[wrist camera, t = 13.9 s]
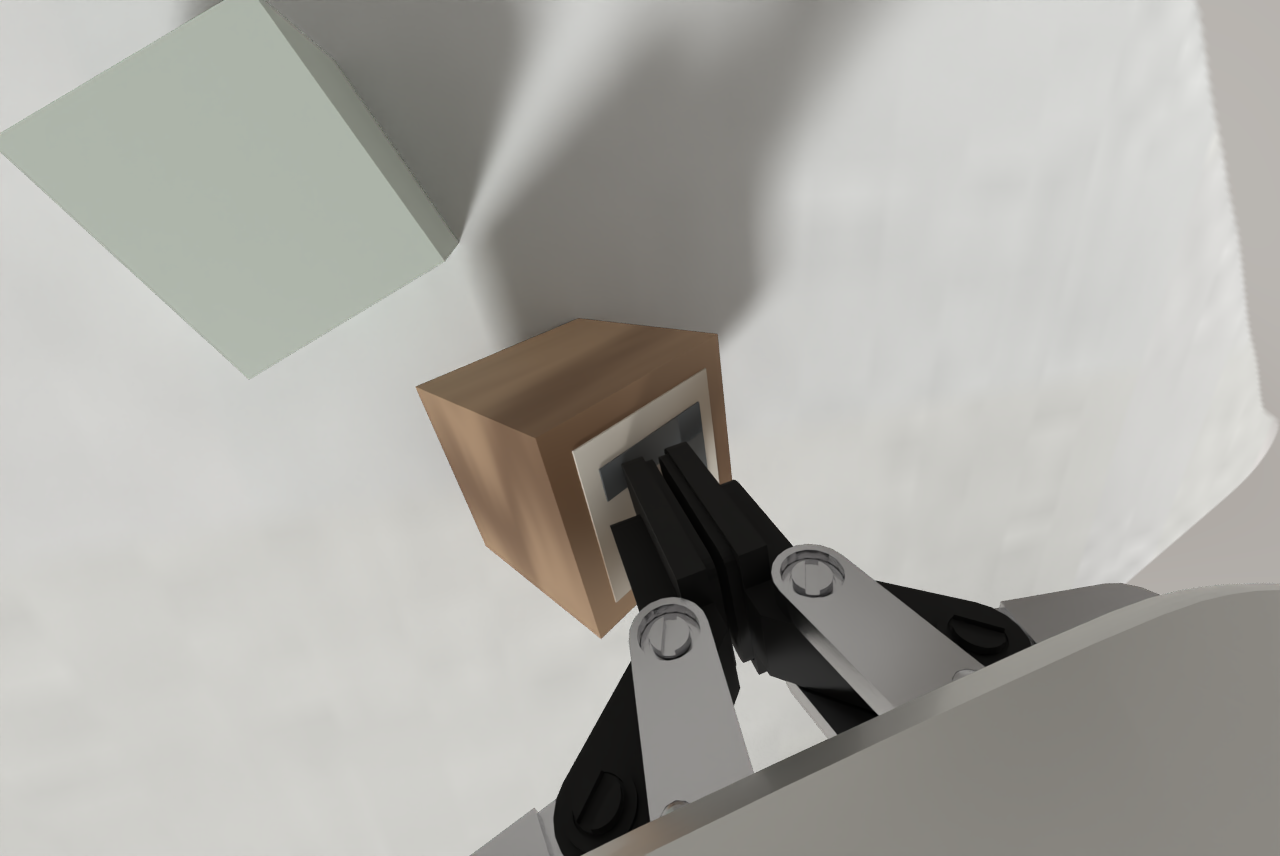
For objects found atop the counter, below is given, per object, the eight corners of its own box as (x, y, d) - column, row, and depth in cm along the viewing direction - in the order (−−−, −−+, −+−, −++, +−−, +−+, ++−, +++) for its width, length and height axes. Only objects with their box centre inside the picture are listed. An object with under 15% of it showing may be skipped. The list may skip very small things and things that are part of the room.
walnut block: (720, 334, 12) (578, 318, 17) (537, 439, 9) (415, 386, 13) (737, 510, 15) (612, 459, 19) (603, 640, 12) (486, 546, 16)
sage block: (168, 160, 12) (-13, 140, 8) (335, 61, 12) (247, -15, 8) (321, 325, 15) (249, 379, 10) (458, 242, 15) (445, 261, 10)
